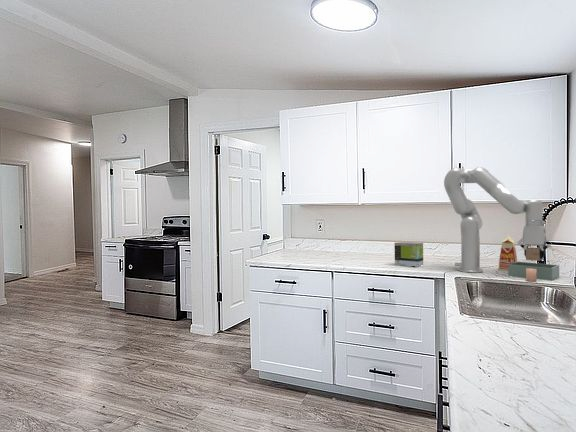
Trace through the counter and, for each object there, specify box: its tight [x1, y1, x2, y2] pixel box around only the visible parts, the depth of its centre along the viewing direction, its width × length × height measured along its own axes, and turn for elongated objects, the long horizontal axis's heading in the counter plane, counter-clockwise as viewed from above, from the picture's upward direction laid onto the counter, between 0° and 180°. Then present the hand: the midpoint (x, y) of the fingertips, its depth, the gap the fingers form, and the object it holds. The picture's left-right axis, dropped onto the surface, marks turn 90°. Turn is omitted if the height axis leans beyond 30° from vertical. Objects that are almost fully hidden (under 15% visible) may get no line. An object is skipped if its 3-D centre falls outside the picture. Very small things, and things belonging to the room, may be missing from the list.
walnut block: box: [525, 247, 544, 262], centre depth 203 cm, size 6×6×6 cm
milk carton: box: [497, 234, 518, 272], centre depth 223 cm, size 9×9×20 cm
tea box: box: [394, 241, 424, 268], centre depth 245 cm, size 15×10×15 cm
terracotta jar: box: [525, 268, 538, 283], centre depth 191 cm, size 4×4×6 cm
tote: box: [508, 261, 560, 281], centre depth 204 cm, size 20×14×6 cm
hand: (534, 257), depth 203 cm, fingers closed on walnut block, 6 cm apart
